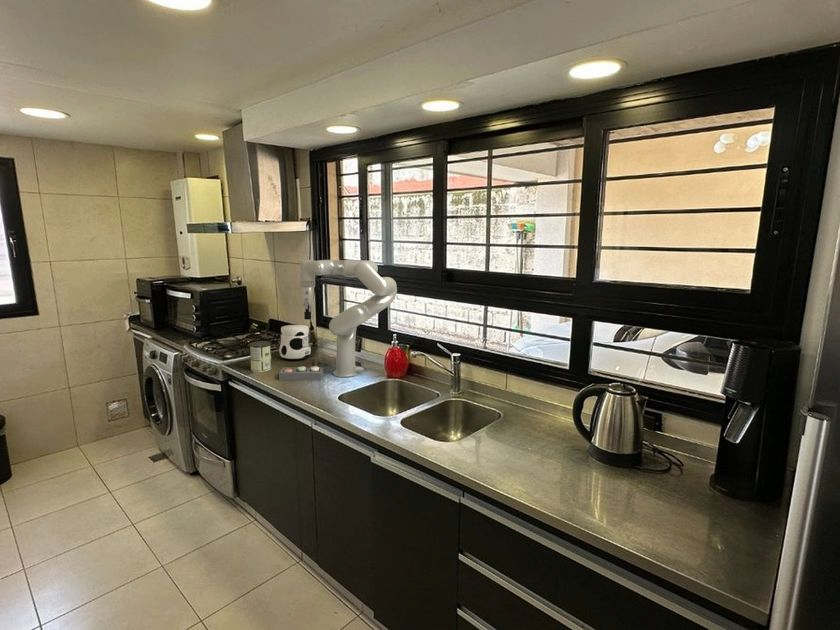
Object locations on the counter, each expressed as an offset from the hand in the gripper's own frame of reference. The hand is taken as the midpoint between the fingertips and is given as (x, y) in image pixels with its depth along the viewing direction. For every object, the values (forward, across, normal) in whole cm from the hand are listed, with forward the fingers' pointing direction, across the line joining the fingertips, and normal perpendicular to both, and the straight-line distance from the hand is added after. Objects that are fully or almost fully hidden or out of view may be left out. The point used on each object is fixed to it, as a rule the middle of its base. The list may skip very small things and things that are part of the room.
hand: (307, 319), depth 225 cm
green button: (+24, -13, +2) cm, 27 cm away
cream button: (+24, -13, -5) cm, 28 cm away
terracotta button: (+25, -13, +8) cm, 30 cm away
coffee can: (+27, 0, +24) cm, 36 cm away
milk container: (+27, +22, +10) cm, 37 cm away
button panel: (+27, -13, +2) cm, 30 cm away
